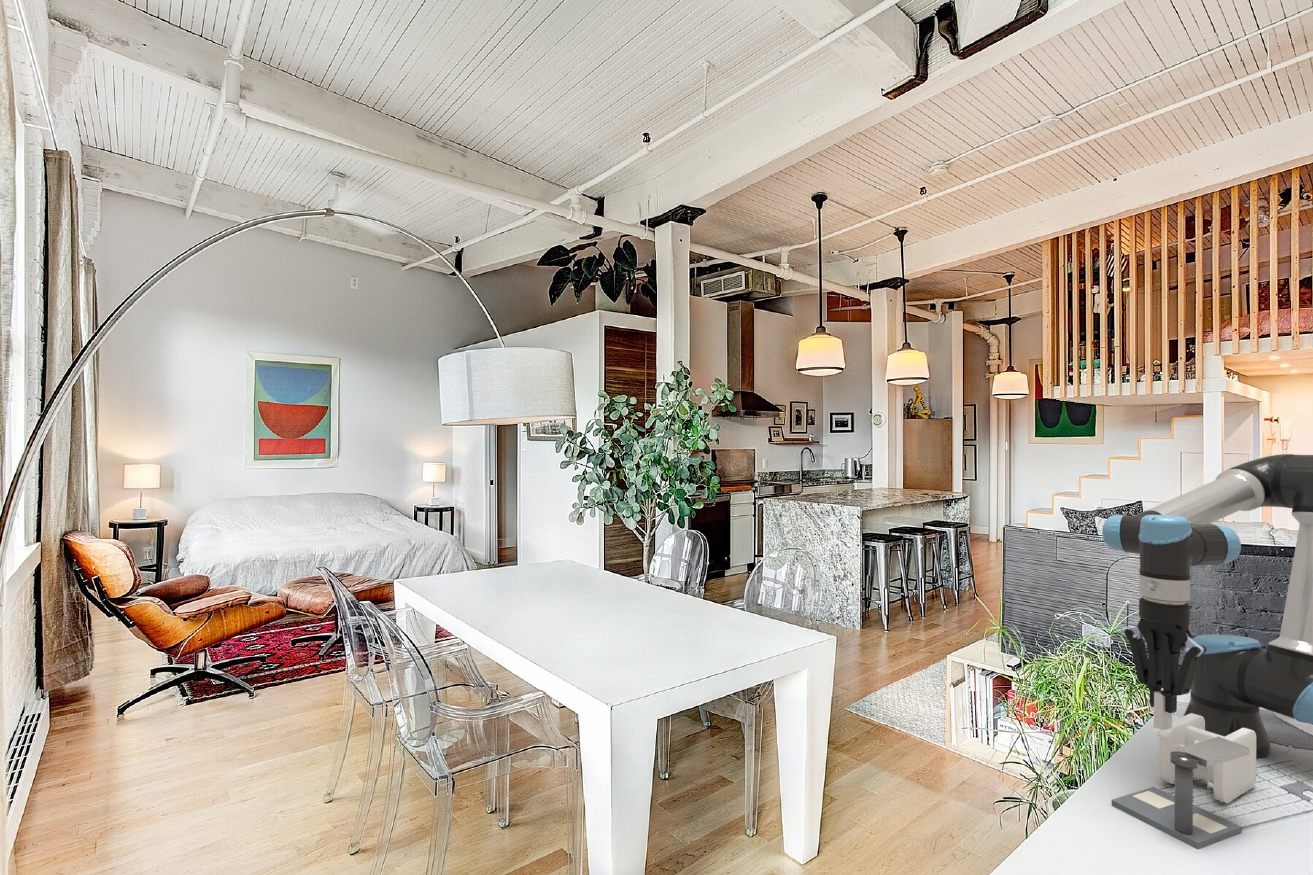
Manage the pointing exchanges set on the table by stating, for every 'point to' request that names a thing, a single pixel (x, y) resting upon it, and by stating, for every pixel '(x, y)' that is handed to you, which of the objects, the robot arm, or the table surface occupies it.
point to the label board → (1169, 819)
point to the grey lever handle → (1208, 753)
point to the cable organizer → (1221, 777)
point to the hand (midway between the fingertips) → (1162, 727)
